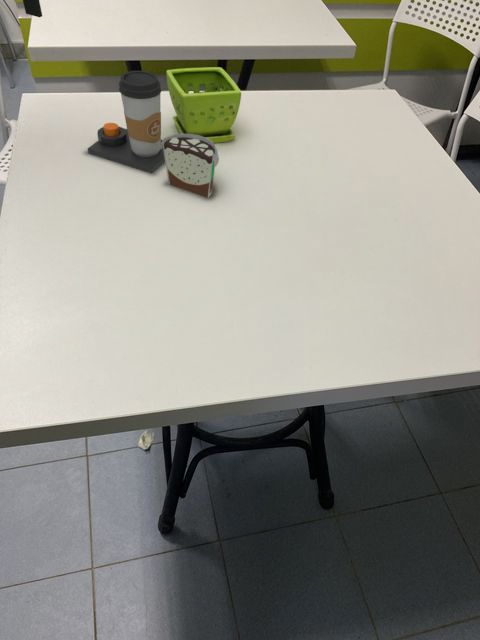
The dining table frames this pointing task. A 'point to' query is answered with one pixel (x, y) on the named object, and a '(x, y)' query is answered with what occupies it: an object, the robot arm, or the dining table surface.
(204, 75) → the flower pot
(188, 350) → the dining table surface
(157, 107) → the coffee cup
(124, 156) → the dark grey flat block
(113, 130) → the button
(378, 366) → the dining table surface
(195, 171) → the food container
